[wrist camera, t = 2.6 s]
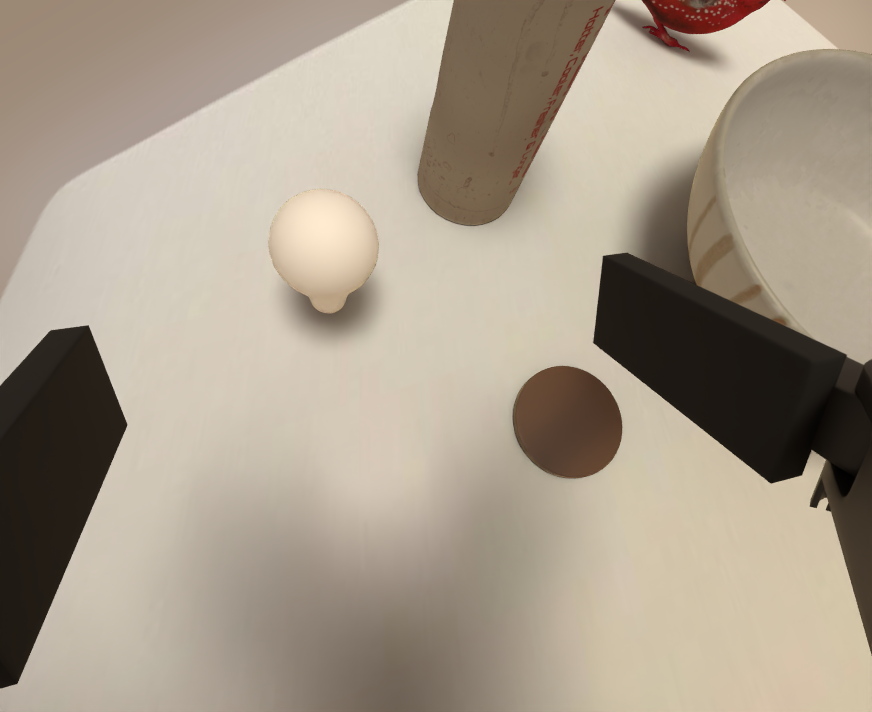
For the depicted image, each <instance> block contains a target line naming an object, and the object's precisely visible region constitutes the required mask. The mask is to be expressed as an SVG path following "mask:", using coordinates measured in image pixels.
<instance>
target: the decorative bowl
mask: <svg viewBox="0 0 872 712" xmlns="http://www.w3.org/2000/svg"><path fill="white" fill-rule="evenodd" d="M687 241H688V252H689V258H690V264H691V268H692V272H693V276H694V279H695V282H696V285H698V286H700V287H702V288H704V289H706V290H709V291H711V292H713V293H715V294H717V295H719V296H722V297H724V298H726V299H728V300H730V301H732V302H735V303H737V304H739V305H741V306H743V307H745V308H747V309H750V310H752V311H754V312H756V313H758V314H760V315H763V316H765V317H767V318H769V319H771V320H773V321H776V322H778V323H780V324H782V325H784V326H786V327H788V328H791V329H793V330H795V331H797V332H799V333H801V334H804V335H806V336H808V337H810V338H812V339H814V340H817V341H819V342H821V343H823V344H825V345H827V346H830V347H832V348H834V349H836V350H838V351H840V352H842V353H845V354H847V357H848V358H851V359H853V360H855V361H857V362H859V363H861V364H863V365H864V364H865V363H866V362H867V361H869V360H871V359H872V54H868V53H863V52H857V51H850V50H840V49H819V50H809V51H803V52H798V53H793V54H790V55H787V56H784V57H781V58H779V59H776V60H774V61H772V62H770V63H768V64H766V65H764V66H763V67H761V68H760V69H758V70H757V71H755V72H754V73H753V74H751V75H750V76H749V77H748V78H747V79H746V80H745V81H744V82H743V83H742V84H741V85H740V86H739V87H738V88H737V90H736V91H735V92H734V93H733V95H732V96H731V98H730V99H729V101H728V102H727V104H726V105H725V107H724V109H723V110H722V112H721V114H720V116H719V118H718V119H717V121H716V123H715V125H714V127H713V129H712V131H711V134H710V136H709V138H708V140H707V143H706V145H705V148H704V150H703V153H702V155H701V158H700V161H699V164H698V167H697V170H696V174H695V177H694V181H693V185H692V190H691V195H690V200H689V207H688V218H687Z"/></svg>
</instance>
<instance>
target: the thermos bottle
mask: <svg viewBox="0 0 872 712" xmlns="http://www.w3.org/2000/svg"><path fill="white" fill-rule="evenodd" d="M614 2H615V0H454V3H453V7H452V12H451V17H450V22H449V26H448V31H447V36H446V41H445V46H444V50H443V55H442V61H441V66H440V71H439V77H438V83H437V88H436V93H435V98H434V101H433V105H432V108H431V113H430V117H429V122H428V126H427V131H426V136H425V141H424V146H423V150H422V155H421V160H420V165H419V170H418V185H419V189H420V192H421V194H422V196H423V198H424V200H425V201H426V202H427V204H428V205H429V206H430V207H431V208H432V209H433V210H434V211H435V212H436V213H437V214H439V215H440V216H442V217H444V218H445V219H447V220H450V221H452V222H455V223H459V224H463V225H479V224H485V223H488V222H491V221H493V220H494V219H496V218H498V217H500V216H501V215H502V214H503V213H504V212H505V211H506V209H507V208H508V206H509V205H510V203H511V201H512V199H513V197H514V196H515V194H516V192H517V190H518V188H519V186H520V184H521V182H522V180H523V178H524V176H525V174H526V172H527V170H528V168H529V167H530V165H531V163H532V161H533V159H534V157H535V155H536V153H537V151H538V149H539V147H540V145H541V143H542V141H543V139H544V138H545V136H546V134H547V132H548V130H549V128H550V126H551V124H552V122H553V120H554V118H555V116H556V114H557V112H558V110H559V108H560V106H561V105H562V103H563V101H564V99H565V97H566V95H567V93H568V91H569V89H570V87H571V85H572V83H573V81H574V80H575V78H576V76H577V74H578V72H579V70H580V68H581V66H582V64H583V62H584V60H585V58H586V56H587V54H588V52H589V51H590V49H591V47H592V45H593V43H594V41H595V39H596V37H597V35H598V33H599V31H600V29H601V27H602V25H603V23H604V22H605V20H606V18H607V16H608V14H609V12H610V10H611V8H612V6H613V4H614Z"/></svg>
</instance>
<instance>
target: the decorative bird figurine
mask: <svg viewBox="0 0 872 712" xmlns="http://www.w3.org/2000/svg"><path fill="white" fill-rule="evenodd" d="M642 1H643V3H644V4H645V5H646V6H647V8H648V10H649V11H650V13H651V14H652V16H653V19H654V22H655V23H656V25H657V27H658V29H659V30H658V29H656V28H655V27H653V26H644V27H643V28H650V31H649V33H650V34H652V35H654V36H656V37H658V38H660V39H661V40H662V41H664V42H665V43H666V44H667V45H668V46H672V47H679V48H682V49H684V50H687V51H689V49H688V48H686V47H684V46H681V45H680V44H679V43H678V41H677V40H676V39H675V38H673V37H671V36H669V34H668V33H667V31H666V29H665V28H664V26H666V27H668V28H670V29H672V30H675V31H678V32H682V33H686V34H708V33H713V32H716V31H720V30H723V29H725V28H728V27H730V26H732V25H734V24H736V23H737V22H739V21H740V20H742V19H743V18H744V17H746V16H747V15H749V14H750V13H752V12H754V11H756V10H758V9H760V8H762V7H763V6H764V5H765V4H766V3H768V2H769V1H770V0H642ZM784 1H786V0H784ZM651 30H653V31H654V32H652V31H651ZM689 52H690V51H689Z"/></svg>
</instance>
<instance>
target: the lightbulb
mask: <svg viewBox="0 0 872 712" xmlns="http://www.w3.org/2000/svg"><path fill="white" fill-rule="evenodd" d="M268 243H269V252H270V256H271V259H272V262H273V265H274V267H275V269H276V270H277V272H278V273H279V275H280V276H281V277H282V278H283V279H284V280H285V281H286V282H287V284H288V285H289V286H291V287H292V288H294V289H295V290H296V291H298V292H300V293H302V294H304V295H307V296H308V297H309V298H310V301H311V303H312V305H313V306H314V308H315V309H317V310H318V311H320V312H323V313H334V312H337V311H339V310H340V309H341V308H342V307H343V306H344V304H345V302H346V298H347V296H348V294H349V293H351V292H353V291H355V290H356V289H358V288H359V287H360V286H362V285H363V283H364V282H365V281H366V280H367V279H368V277H369V276H370V275H371V273H372V271H373V269H374V267H375V265H376V261H377V258H378V249H379V242H378V236H377V231H376V228H375V226H374V223H373V221H372V219H371V218H370V216H369V215H368V213H367V212H366V210H365V209H364V208H363V207H362V206H361V205H360V204H359V203H358V202H357V201H355V200H354V199H352V198H351V197H349V196H347V195H345V194H342V193H340V192H337V191H333V190H327V189H314V190H309V191H305V192H303V193H300V194H298V195H296V196H294V197H293V198H291V199H290V200H288V201H287V202H286V203H285V204H284V205H283V206H282V207H281V208H280V209H279V211H278V212H277V214H276V215H275V217H274V219H273V222H272V225H271V227H270V233H269V242H268Z"/></svg>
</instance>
